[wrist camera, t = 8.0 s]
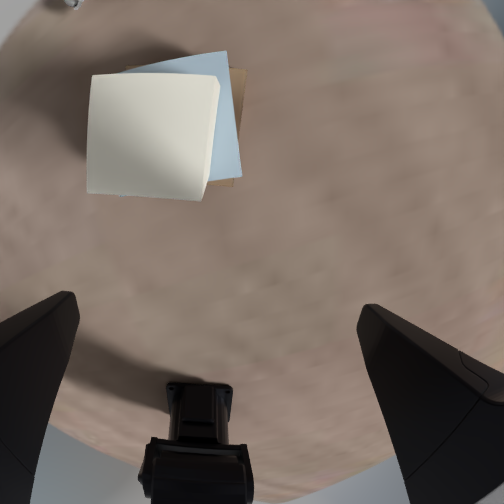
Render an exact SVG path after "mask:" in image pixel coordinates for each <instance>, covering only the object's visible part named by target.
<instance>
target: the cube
mask: <svg viewBox="0 0 504 504" xmlns="http://www.w3.org/2000/svg"><path fill="white" fill-rule="evenodd" d="M219 93H220V84H219V82H218V80H217V77H216V76H211V75H197V74H177V73H123V74H103V75H92V82H91V91H90V101H89V114H88V131H87V193H94V194H111V195H127V196H141V197H155V198H167V199H179V200H191V201H201V200H202V197H203V194H204V191H205V187H206V184H207V181H208V178H209V175H210V165H211V156H212V147H213V139H214V131H215V123H216V115H217V107H218V100H219Z"/></svg>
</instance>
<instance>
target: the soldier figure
mask: <svg viewBox="0 0 504 504" xmlns="http://www.w3.org/2000/svg"><path fill="white" fill-rule="evenodd" d="M64 1H65V3H66V4H67V5H68V6H71V7H74V9H75V10H78V8H79V7H81V4H82V2H83V1H84V0H64Z"/></svg>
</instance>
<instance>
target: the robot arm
mask: <svg viewBox="0 0 504 504" xmlns="http://www.w3.org/2000/svg"><path fill="white" fill-rule="evenodd" d="M79 321H80V314H79V309H78V305H77V301H76V297H75V294H74V293H73V292H70V291H60V292H58V293H56V294H54V295H52V296H51V297H49V298H47V299H45V300H43V301H41V302H39V303H37V304H35V305H33V306H31V307H29V308H27V309H25V310H23V311H21V312H19V313H18V314H16V315H14V316H12V317H10V318H8V319H6V320H4V321H3V322H1V323H0V504H30V499H31V493H32V488H33V483H34V478H35V477H34V475H35V472H36V467H37V463H38V458H39V455H40V450H41V447H42V443H43V439H44V435H45V431H46V428H47V425H48V421H49V418H50V414H51V411H52V408H53V405H54V402H55V398H56V395H57V392H58V389H59V386H60V384H61V381H62V378H63V375H64V372H65V369H66V367H67V364H68V361H69V357H70V354H71V350H72V346H73V342H74V339H75V335H76V332H77V328H78V325H79ZM357 334H358V338H359V342H360V346H361V350H362V353H363V357H364V361H365V365H366V369H367V372H368V375H369V378H370V380H371V383H372V386H373V388H374V391H375V394H376V397H377V400H378V402H379V405H380V408H381V411H382V414H383V417H384V420H385V423H386V425H387V428H388V431H389V434H390V438H391V441H392V444H393V447H394V450H395V453H396V456H397V459H398V462H399V466H400V469H401V472H402V475H403V479H404V483H405V486H406V490H407V494H408V497H409V501H410V504H504V374H503V373H501V372H499V371H497V370H495V369H493V368H491V367H489V366H487V365H485V364H483V363H481V362H479V361H478V360H476V359H474V358H472V357H470V356H468V355H467V354H465V353H463V352H461V351H458V349H456V348H454V347H453V346H451V345H449V344H447V343H446V342H444V341H442V340H440V339H439V338H437V337H435V336H433V335H431V334H430V333H428V332H426V331H424V330H423V329H421V328H419V327H417V326H415V325H414V324H412V323H410V322H408V321H407V320H405V319H403V318H401V317H399V316H398V315H396V314H394V313H392V312H390V311H389V310H387V309H385V308H383V307H381V306H380V305H378V304H365V305H364V306H363V308H362V311H361V314H360V317H359V320H358V323H357ZM166 390H167V398H168V405H169V412H170V427H169V437H168V440H166V439H158V438H157V437H151V441H150V443H148V444H146V449H145V456H144V460H143V463H142V466H141V469H140V471H139V474H138V481H139V482H140V483H141V484H142V485H143V490H144V494H145V497H146V498H151V504H252V502H253V496H254V480H253V473H252V468H251V464H250V459H249V454H248V449H247V444H240V445H229V439H228V422H229V420H230V412H231V403H232V395H233V388H232V387H231V386H218V385H198V384H184V383H172V382H169V383H167V386H166ZM227 390H228V391H227Z"/></svg>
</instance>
